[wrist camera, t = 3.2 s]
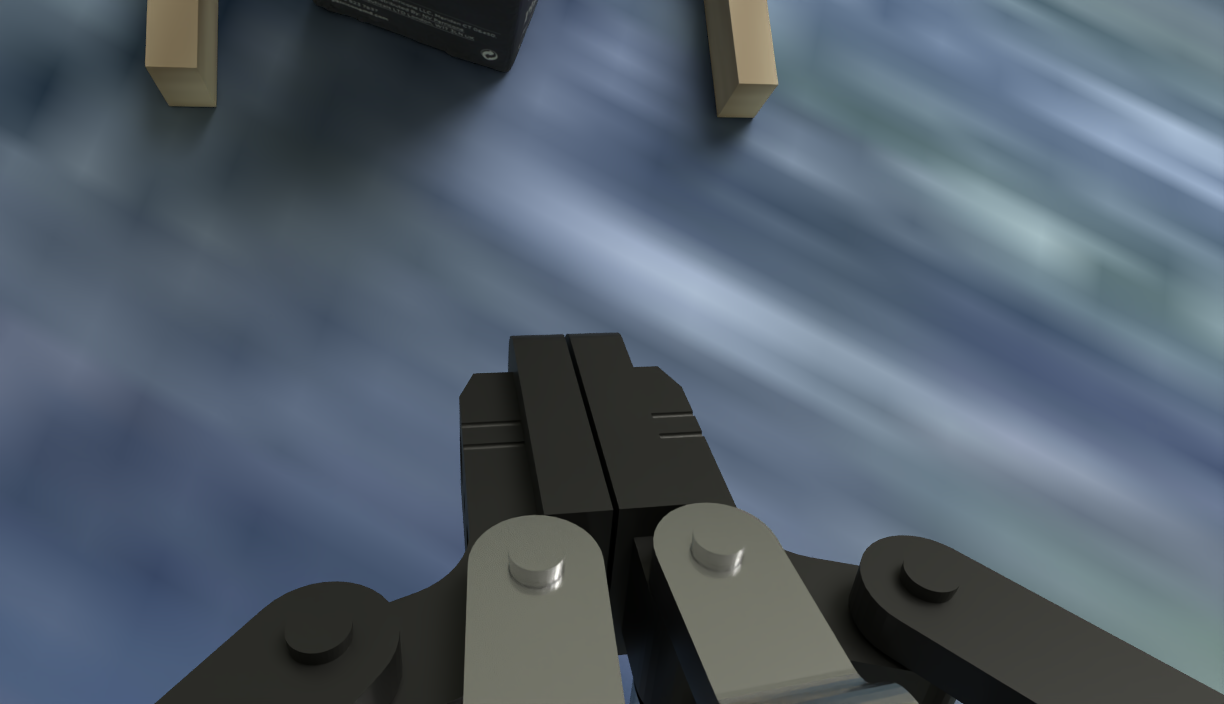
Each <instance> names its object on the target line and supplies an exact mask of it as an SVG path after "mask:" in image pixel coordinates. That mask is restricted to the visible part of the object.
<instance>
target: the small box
mask: <svg viewBox="0 0 1224 704" xmlns="http://www.w3.org/2000/svg"><path fill="white" fill-rule="evenodd" d="M313 1H314V3H315V4H316V5H317V6H322V7H324V8H326V9H327V10H328V11H332V12H336V13H339V14H345V15H348V16H351V17H354V18H357V19H358V20H359V21H360V22H367V23H370V24H373V25H376V26H378V27H381V28H384V29H387V30H389V31H392V32H394V33H397V34H400V35H403V36H405V37H408V38H411V39H414V40H416V41H418V42H420V43H423V44H426V45H429V46H432V47H435V48H437V49H440V50H443V51H445V52H446V53H448V54H449V55H451V56H453V57H458V58H461V59H463V60H468V61H470V62H474V63H477V64H480V65H483V66H488V67H490V68H493V69H496V70H499V71H502V72H508V71H509V70H510V69H511V67H512V65H513V63H514V61H515V58H516V56H517V54H518V51H519V48H520V46H521V43H522V40H523V38H524V35H525V33H526V30H527V28H528V25H529V23H530V20H531V17H532V15H533V12H534V10H535V7H536V4H537V2H538V0H313Z"/></svg>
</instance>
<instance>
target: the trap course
mask: <svg viewBox="0 0 1224 704" xmlns="http://www.w3.org/2000/svg"><path fill="white" fill-rule="evenodd" d="M704 7H705V16H706V24H707V33H708V41H709V49H710V58H711V66H712V75H713V83H714V92H715V100H716V109H717V117H741V118H754V117H755V116H756V114H757V113H758V111H759V110H760V109H761V107H762V106H763V105H764V103H765V102H766V100H767V99H768V98H769V96H770V95H771V94H772V92H773V91H774V89H775V88H776V87H777V85H778V80H777V72H776V65H775V58H774V50H773V43H772V36H771V28H770V21H769V13H768V6H767V0H704ZM217 44H218V0H147V28H146V56H145V67H146V69H147V70H148V72H149V74H150V75H151V77H152V78H153V80H154V82H155V83H156V85H157V87H158V88H159V90H160V92H161V93H162V95H163V97H164V98H165V100H166V102H167V103H168V105H169V106H190V107H216V106H217Z"/></svg>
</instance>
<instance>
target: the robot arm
mask: <svg viewBox="0 0 1224 704" xmlns="http://www.w3.org/2000/svg"><path fill="white" fill-rule="evenodd" d="M459 405H460V466H461V495H462V510H463V525H464V537H465V553H464V555H463V557H462V559H461V560H460V562H459V563H458V564H457V566H456V567H455V568H454V569H453V570H452V571H451V572H450V573H449V574H448V575H446V576H445V577H444V578H443V579H441V580H440V581H439V582H437V583H435V584H433V585H432V586H430V587H428V588H426V589H424V590H421V591H419V592H417V593H414V594H411V595H409V596H406V597H403V598H400V599H397V600H395V601H392V602H388V601H387V600H386V599H385V598H384V597H383V596H382V595H380V594H379V593H377V592H375V591H374V590H372V589H370V588H367V587H365V586H362V585H359V584H354V583H349V582H322V583H316V584H311V585H308V586H304V587H301V588H298V589H295V590H293V591H291V592H288V593H286V594H284V595H283V596H281V597H279V598H277V599H276V600H274V601H273V602H271V603H270V604H269V605H268V606H266V607H265V608H264V609H262V610H261V611H260V612H259V613H258V614H257V615H256V616H254V617H253V618H252V619H251V620H250V621H249V622H248V623H246V624H245V625H244V626H243V627H242V628H241V629H240V630H238V631H237V632H236V633H235V634H234V635H233V636H232V637H230V638H229V639H228V640H227V641H226V642H225V643H224V644H222V645H221V646H220V647H219V648H218V649H217V650H216V651H214V652H213V653H212V654H211V655H210V656H209V657H208V658H206V659H205V660H204V661H203V662H202V663H201V664H199V665H198V666H197V667H196V668H195V669H194V670H193V671H191V672H190V673H189V674H188V675H187V676H186V677H185V678H183V679H182V680H181V681H180V682H179V683H178V684H177V685H175V686H174V687H173V688H172V689H171V690H170V691H169V692H167V693H166V694H165V695H164V696H163V697H162V698H161V699H159V700H158V701H157V702H156V703H155V704H625V701H624V694H623V687H622V680H621V674H620V667H619V660H618V655H624V654H627V655H628V659H629V663H630V667H631V671H632V675H633V682H632V689H631V696H630V704H954V703H955V701H956V699H957V700H958V701H960V702H961V703H963V704H1224V695H1223V694H1221V693H1219V692H1217V691H1215V690H1214V689H1212V688H1210V687H1208V686H1206V685H1204V684H1202V683H1201V682H1199V681H1197V680H1195V679H1193V678H1191V677H1189V676H1188V675H1186V674H1184V673H1182V672H1180V671H1178V670H1177V669H1175V668H1173V667H1171V666H1169V665H1167V664H1165V663H1164V662H1162V661H1160V660H1158V659H1156V658H1154V657H1152V656H1151V655H1149V654H1147V653H1145V652H1143V651H1141V650H1139V649H1138V648H1136V647H1134V646H1132V645H1130V644H1128V643H1126V642H1125V641H1123V640H1121V639H1119V638H1117V637H1115V636H1113V635H1112V634H1110V633H1108V632H1106V631H1104V630H1102V629H1100V628H1099V627H1097V626H1095V625H1093V624H1091V623H1089V622H1087V621H1086V620H1084V619H1082V618H1080V617H1078V616H1076V615H1075V614H1073V613H1071V612H1069V611H1067V610H1065V609H1063V608H1062V607H1060V606H1058V605H1056V604H1054V603H1052V602H1050V601H1049V600H1047V599H1045V598H1043V597H1041V596H1039V595H1037V594H1036V593H1034V592H1032V591H1030V590H1028V589H1026V588H1024V587H1023V586H1021V585H1019V584H1017V583H1015V582H1013V581H1011V580H1010V579H1008V578H1006V577H1004V576H1002V575H1000V574H998V573H997V572H995V571H993V570H991V569H989V568H987V567H985V566H984V565H982V564H980V563H978V562H976V561H974V560H973V559H971V558H969V557H967V556H965V555H963V554H961V553H960V552H958V551H956V550H954V549H952V548H950V547H948V546H946V545H944V544H941V543H939V542H936V541H933V540H930V539H926V538H922V537H916V536H891V537H886V538H883V539H880V540H878V541H876V542H874V543H873V544H871V545H870V546H869V547H868V548H867V549H866V551H865V552H864V554H863V556H862V559H861V562H860V565H859V566H858V565H852V564H846V563H840V562H834V561H828V560H823V559H817V558H811V557H806V556H802V555H798V554H795V553H792V552H789V551H786V550H784V549H783V548H782V546H781V544H780V543H779V541H778V539H777V538H776V536H775V535H774V534H773V532H772V531H771V530H770V529H769V528H768V527H767V526H766V525H765V524H764V523H763V522H762V521H760V520H759V519H758V518H756V517H755V516H753V515H751V514H749V513H748V512H745V511H743V510H741V509H738V508H737V507H736V505H735V503H734V501H733V499H732V496H731V494H730V492H729V490H728V488H727V485H726V483H725V481H724V479H723V477H722V474H721V472H720V470H719V468H718V466H717V464H716V461H715V459H714V457H713V455H712V453H711V450H710V448H709V446H708V444H707V442H706V439H705V437H704V436H702V431H701V428H700V426H699V424H698V422H697V420H696V417H695V416H693V411H692V409H691V406H690V404H689V402H688V400H687V398H686V396H685V393H684V391H683V389H682V387H681V386H680V385H679V384H678V383H676V382H675V381H674V380H673V379H672V378H671V377H669V376H668V375H667V374H666V373H665V372H664V371H662V370H661V369H660V368H659V367H658V366H653V367H633V365H632V363H631V360H630V357H629V355H628V352H627V350H626V347H625V344H624V342H623V339H622V337H621V335H620V334H619V333H584V334H566V336H565V337H564V335H563V334H557V335H524V336H510V340H509V357H508V372H502V373H476V374H473V375H472V377H471V379H470V380H469V382H468V384H467V385H466V387H465V388H464V390H463V392H462V393H461V395H460V397H459Z"/></svg>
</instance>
